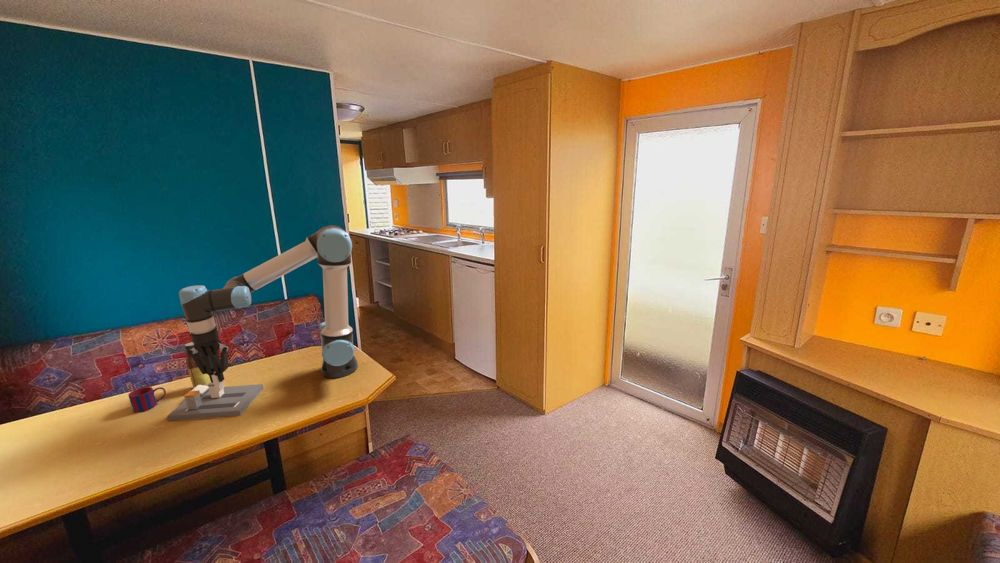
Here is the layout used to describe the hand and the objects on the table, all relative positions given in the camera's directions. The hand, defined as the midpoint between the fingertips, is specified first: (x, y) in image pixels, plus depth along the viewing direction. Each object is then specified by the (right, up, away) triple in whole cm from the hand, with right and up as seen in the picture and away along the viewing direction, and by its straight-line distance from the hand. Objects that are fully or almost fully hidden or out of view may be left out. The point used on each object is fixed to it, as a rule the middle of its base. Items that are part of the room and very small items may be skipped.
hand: (220, 389), depth 140 cm
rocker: (-15, -4, +10) cm, 19 cm away
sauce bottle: (-20, -5, +17) cm, 27 cm away
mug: (-30, -8, +5) cm, 32 cm away
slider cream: (-6, -5, +8) cm, 11 cm away
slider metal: (-9, -7, 0) cm, 11 cm away
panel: (-5, -7, +6) cm, 11 cm away
